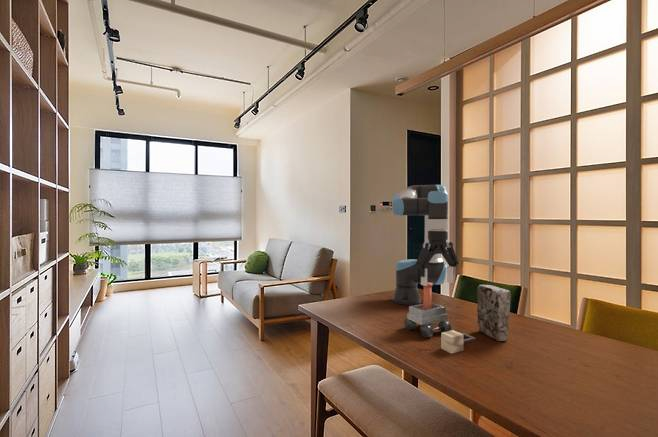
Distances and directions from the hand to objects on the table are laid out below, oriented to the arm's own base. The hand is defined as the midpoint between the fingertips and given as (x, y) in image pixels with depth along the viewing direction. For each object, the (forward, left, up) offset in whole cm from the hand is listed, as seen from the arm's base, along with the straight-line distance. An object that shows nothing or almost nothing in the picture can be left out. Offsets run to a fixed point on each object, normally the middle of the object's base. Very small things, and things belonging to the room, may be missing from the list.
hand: (437, 283), depth 134 cm
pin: (-3, -9, -15) cm, 17 cm away
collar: (-10, +4, -22) cm, 25 cm away
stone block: (-23, +7, -22) cm, 33 cm away
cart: (-3, -9, -22) cm, 24 cm away
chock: (+2, +10, -22) cm, 24 cm away
